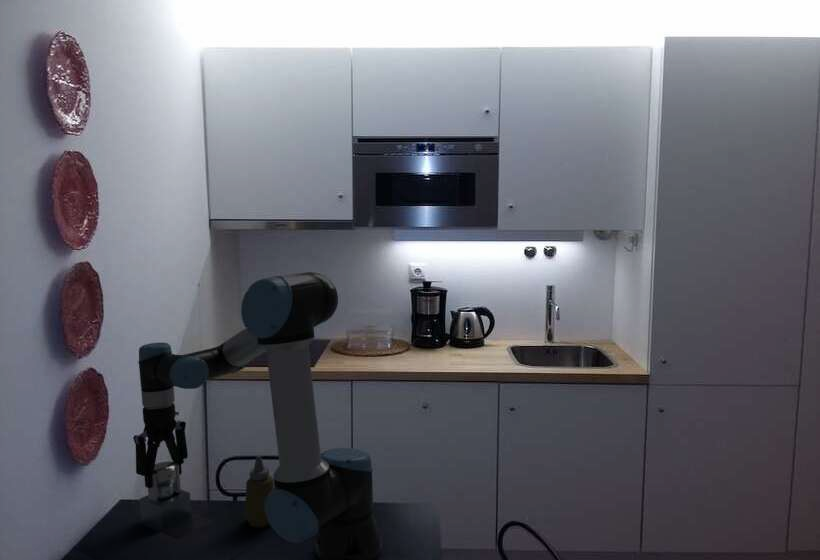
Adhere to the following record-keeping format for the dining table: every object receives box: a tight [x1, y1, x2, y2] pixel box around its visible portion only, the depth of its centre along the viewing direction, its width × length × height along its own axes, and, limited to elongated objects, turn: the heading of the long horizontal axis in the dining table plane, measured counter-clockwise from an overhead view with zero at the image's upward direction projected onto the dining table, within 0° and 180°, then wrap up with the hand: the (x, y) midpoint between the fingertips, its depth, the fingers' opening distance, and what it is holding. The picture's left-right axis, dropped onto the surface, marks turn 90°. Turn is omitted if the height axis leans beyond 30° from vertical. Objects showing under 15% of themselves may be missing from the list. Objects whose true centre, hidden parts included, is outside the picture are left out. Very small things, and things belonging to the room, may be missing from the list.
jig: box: [138, 489, 214, 540], centre depth 151 cm, size 16×10×7 cm, turn 58°
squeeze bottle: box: [244, 455, 275, 529], centre depth 149 cm, size 8×8×18 cm
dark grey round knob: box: [153, 461, 177, 502], centre depth 152 cm, size 6×6×10 cm
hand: (164, 493), depth 152 cm, fingers closed on dark grey round knob, 6 cm apart
